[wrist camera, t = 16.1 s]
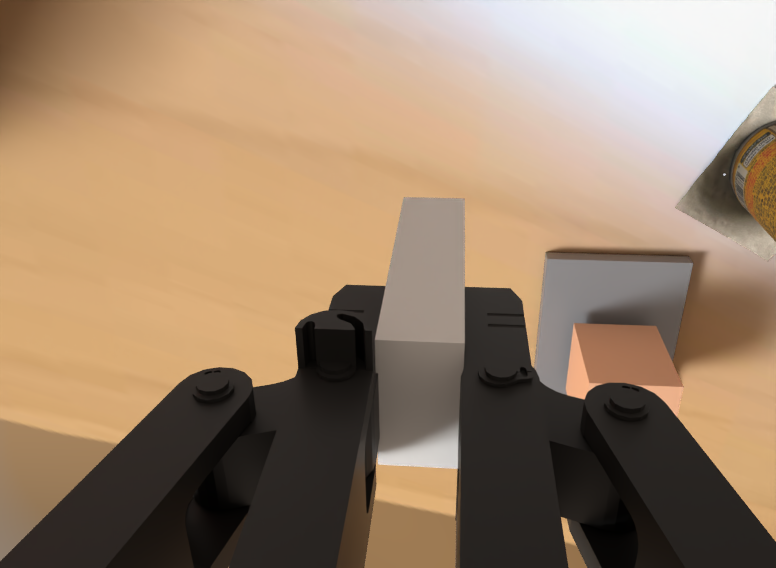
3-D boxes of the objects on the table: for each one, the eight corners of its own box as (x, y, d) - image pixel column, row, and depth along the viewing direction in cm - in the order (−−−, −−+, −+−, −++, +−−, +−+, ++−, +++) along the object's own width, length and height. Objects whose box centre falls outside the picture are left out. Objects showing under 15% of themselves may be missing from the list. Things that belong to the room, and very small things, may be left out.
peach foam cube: (573, 323, 47) (589, 383, 41) (656, 326, 46) (683, 387, 40) (565, 388, 49) (579, 453, 43) (644, 391, 49) (668, 458, 43)
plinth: (532, 389, 52) (533, 398, 51) (545, 252, 47) (547, 259, 46) (660, 395, 51) (663, 404, 50) (688, 256, 46) (693, 263, 45)
